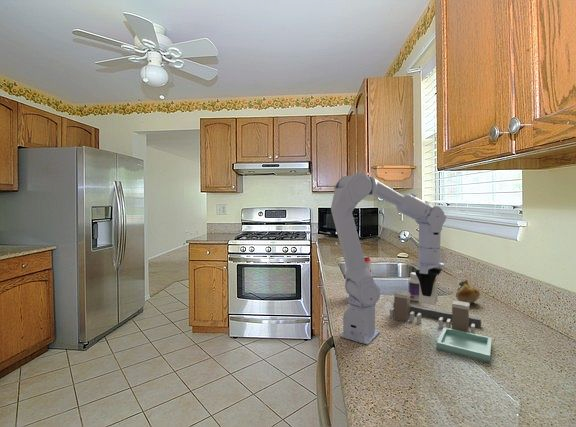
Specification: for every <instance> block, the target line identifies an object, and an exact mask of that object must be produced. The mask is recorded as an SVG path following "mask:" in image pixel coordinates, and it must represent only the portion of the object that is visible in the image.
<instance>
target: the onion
mask: <svg viewBox="0 0 576 427" xmlns="http://www.w3.org/2000/svg"><path fill="white" fill-rule="evenodd" d="M458 286H460V287H458V288H457V289H456V290H457V291H456V293H455V298H456V299H457V301H462V302H468V303H470V305H471V304H474V303H475V302H476V301H479V298H480V296H481V294H480V291H479V289H478V288H476V287H474V286H473V285H470V284H469V280H467V279H465V280H462V281H461V280H459V281H458Z"/></svg>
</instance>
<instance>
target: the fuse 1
mask: <svg viewBox="0 0 576 427" xmlns="http://www.w3.org/2000/svg"><path fill="white" fill-rule="evenodd" d="M393 297H394V298H393V300H394V301H393V303H394V317H393V319H394V320H397V321H402V322H405V323H407V322H408V321H410V305H411V300H410V293H409V292H408V291H402V290H397V291H395V292H394V294H393Z"/></svg>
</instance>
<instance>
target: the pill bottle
mask: <svg viewBox="0 0 576 427" xmlns="http://www.w3.org/2000/svg"><path fill="white" fill-rule="evenodd" d="M409 276H410V278H409V279H408V280H407V281H408V282H407V283H408V284H407V292H409V293H410V301H413V302H419V279H418V277H417V275H416V273H415V272H413V271H412V272H410V275H409Z"/></svg>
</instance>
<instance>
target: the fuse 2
mask: <svg viewBox="0 0 576 427" xmlns="http://www.w3.org/2000/svg"><path fill="white" fill-rule="evenodd" d="M470 306H471V304H470V303H468V302H462V301H459V300H453V302H452V304H451V312H452V322H451V329H455V330H459V331H464V332H468V333H470V332H469V331H470V325H469V316H470Z"/></svg>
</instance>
